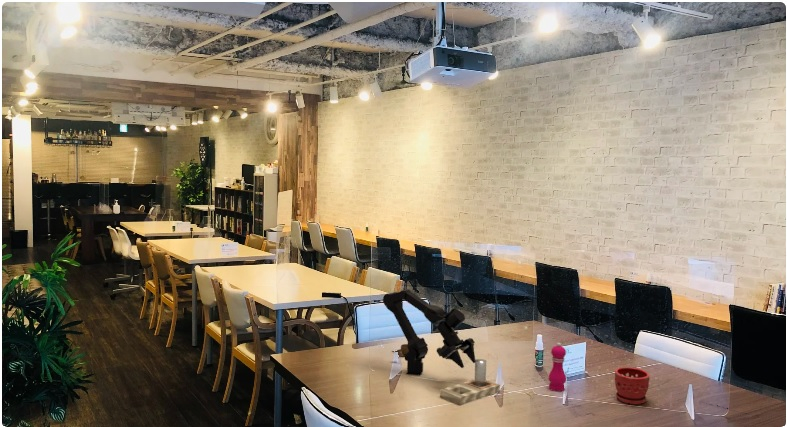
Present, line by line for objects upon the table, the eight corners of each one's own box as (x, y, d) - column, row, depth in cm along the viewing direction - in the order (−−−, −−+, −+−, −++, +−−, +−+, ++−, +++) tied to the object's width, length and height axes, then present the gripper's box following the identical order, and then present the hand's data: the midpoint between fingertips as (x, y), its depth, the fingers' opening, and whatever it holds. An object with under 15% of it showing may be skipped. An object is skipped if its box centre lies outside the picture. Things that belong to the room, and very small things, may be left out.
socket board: (460, 405, 247) (460, 396, 246) (440, 396, 255) (440, 388, 255) (499, 391, 262) (499, 384, 262) (479, 384, 271) (479, 377, 270)
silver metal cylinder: (475, 393, 260) (476, 362, 259) (472, 389, 264) (474, 359, 263) (486, 393, 260) (487, 362, 259) (483, 389, 265) (484, 359, 264)
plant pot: (609, 394, 263) (610, 366, 262) (641, 395, 263) (642, 367, 262) (619, 406, 250) (621, 376, 249) (653, 407, 250) (654, 377, 249)
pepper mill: (566, 387, 270) (568, 341, 269) (564, 392, 264) (567, 345, 262) (548, 384, 273) (551, 339, 271) (547, 390, 266) (549, 343, 264)
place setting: (428, 358, 308) (429, 346, 308) (397, 365, 295) (398, 353, 295) (405, 349, 322) (405, 338, 321) (374, 356, 309) (374, 344, 308)
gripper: (448, 339, 282) (468, 369, 276) (424, 348, 268) (444, 380, 262) (464, 326, 277) (485, 356, 271) (440, 334, 262) (461, 366, 256)
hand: (469, 365), depth 265 cm, fingers open, 9 cm apart
